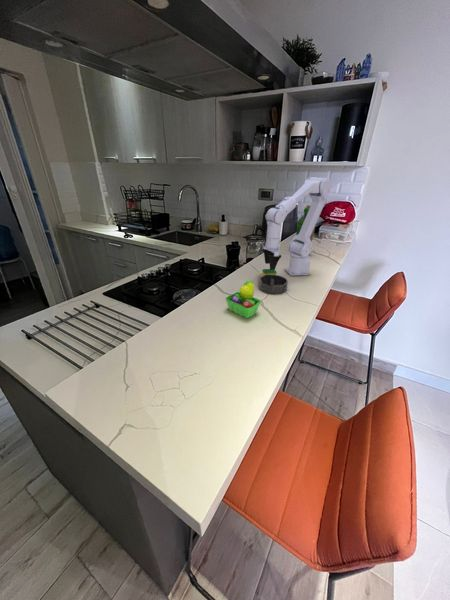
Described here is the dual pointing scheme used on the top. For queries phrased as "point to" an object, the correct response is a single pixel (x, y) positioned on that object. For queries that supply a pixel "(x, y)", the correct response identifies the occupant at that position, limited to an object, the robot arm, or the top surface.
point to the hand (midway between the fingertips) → (269, 266)
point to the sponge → (268, 272)
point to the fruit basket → (244, 301)
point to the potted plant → (301, 221)
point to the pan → (273, 284)
